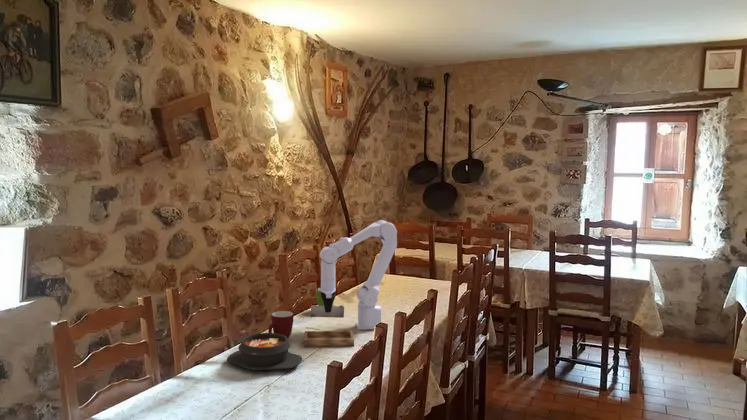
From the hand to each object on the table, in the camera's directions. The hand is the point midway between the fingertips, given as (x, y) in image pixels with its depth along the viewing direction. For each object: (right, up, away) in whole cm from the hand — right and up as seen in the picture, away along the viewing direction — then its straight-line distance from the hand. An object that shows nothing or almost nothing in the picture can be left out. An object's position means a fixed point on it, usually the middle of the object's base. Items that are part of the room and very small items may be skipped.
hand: (327, 311), depth 213 cm
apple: (-3, -5, +26) cm, 27 cm away
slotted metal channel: (0, -2, 0) cm, 2 cm away
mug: (-17, -9, -13) cm, 23 cm away
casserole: (-18, -11, -36) cm, 41 cm away
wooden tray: (+1, -9, -13) cm, 16 cm away
